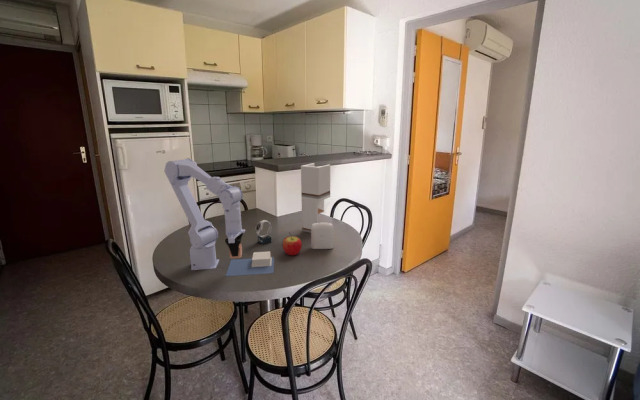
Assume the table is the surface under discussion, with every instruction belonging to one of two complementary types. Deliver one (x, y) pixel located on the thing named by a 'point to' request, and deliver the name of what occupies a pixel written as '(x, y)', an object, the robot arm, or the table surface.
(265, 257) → the base block
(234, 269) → the blueprint board
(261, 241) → the watch
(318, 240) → the photo printer
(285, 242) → the apple
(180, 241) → the table surface
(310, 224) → the tall white column
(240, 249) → the terracotta block
